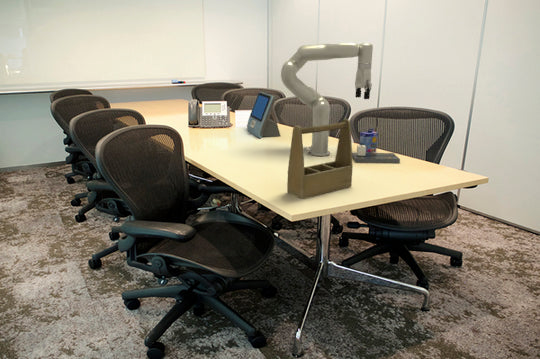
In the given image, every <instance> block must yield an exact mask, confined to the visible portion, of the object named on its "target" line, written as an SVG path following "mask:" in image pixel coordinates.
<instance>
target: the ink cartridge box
mask: <svg viewBox="0 0 540 359" xmlns="http://www.w3.org/2000/svg"><path fill="white" fill-rule="evenodd" d="M359 135H360V136H359V144H358V145H365V146H366V153H377V145H378V136H379V132H377V131H374V128H369V129H368V130H367V131H362V132H360V134H359Z"/></svg>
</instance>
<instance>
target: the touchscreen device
mask: <svg viewBox="0 0 540 359" xmlns="http://www.w3.org/2000/svg"><path fill="white" fill-rule="evenodd" d="M276 99H277V98H276V96H275V95H272V94H269V93H266V92H263V91H259V92H257V96H256V98H255V101H254V104H253V106H252V109H251V112H250V115H249V117H248V121H247V124H246V129H247V131H248V132H249V133H251V134H252V135H253V136H255V137H256V138H259V139H262V137H281V133H280V129H279V126H278V123H277V122H276V121H274V120H273V119H271V118H269V117H270V115H271V112H272V110H273V108H274V104H275V102H276Z"/></svg>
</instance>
